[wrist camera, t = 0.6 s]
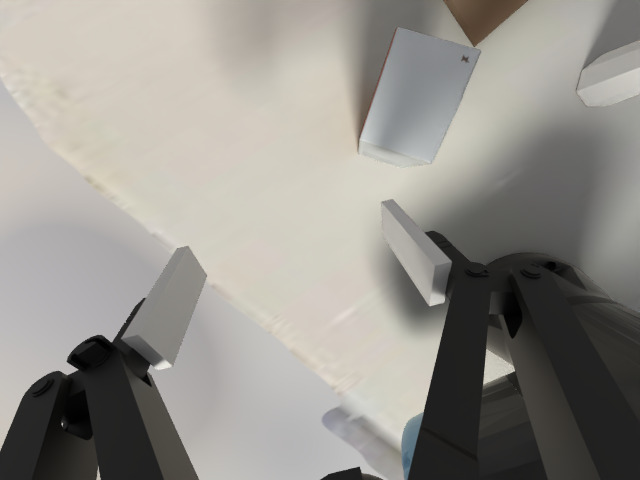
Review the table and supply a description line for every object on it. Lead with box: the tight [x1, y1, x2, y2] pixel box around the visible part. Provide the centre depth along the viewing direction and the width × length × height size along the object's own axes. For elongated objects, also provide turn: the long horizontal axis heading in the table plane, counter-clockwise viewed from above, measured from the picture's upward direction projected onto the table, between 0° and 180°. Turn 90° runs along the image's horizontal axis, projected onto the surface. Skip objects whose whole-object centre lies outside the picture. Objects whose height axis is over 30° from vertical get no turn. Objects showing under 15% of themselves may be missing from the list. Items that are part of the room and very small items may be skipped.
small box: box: [358, 27, 481, 168], centre depth 24 cm, size 8×6×13 cm
